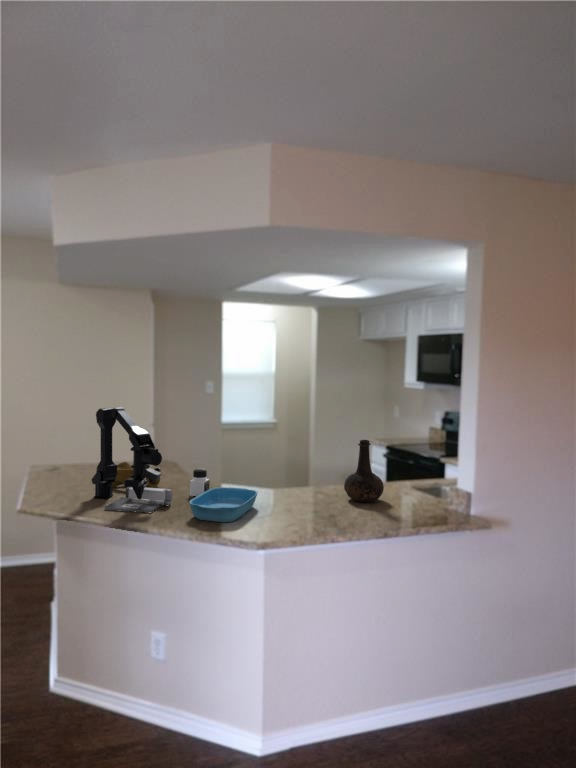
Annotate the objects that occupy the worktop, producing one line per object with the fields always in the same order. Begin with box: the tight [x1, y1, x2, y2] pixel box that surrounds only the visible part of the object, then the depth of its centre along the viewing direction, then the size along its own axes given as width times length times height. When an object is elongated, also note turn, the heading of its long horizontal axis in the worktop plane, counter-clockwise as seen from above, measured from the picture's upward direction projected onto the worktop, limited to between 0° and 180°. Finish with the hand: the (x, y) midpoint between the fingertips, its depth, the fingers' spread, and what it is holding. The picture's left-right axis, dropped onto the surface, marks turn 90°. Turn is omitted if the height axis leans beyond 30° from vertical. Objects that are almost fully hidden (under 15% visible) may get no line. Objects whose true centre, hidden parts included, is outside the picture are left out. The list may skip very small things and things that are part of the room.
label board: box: [104, 497, 172, 513], centre depth 232 cm, size 24×16×2 cm
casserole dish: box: [188, 486, 258, 523], centre depth 228 cm, size 37×22×7 cm, turn 166°
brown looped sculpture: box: [112, 461, 161, 488], centre depth 266 cm, size 18×13×22 cm
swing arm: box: [125, 487, 173, 501], centre depth 236 cm, size 20×4×4 cm, turn 82°
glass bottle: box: [343, 439, 385, 503], centre depth 255 cm, size 18×18×28 cm
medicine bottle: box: [189, 468, 210, 497], centre depth 254 cm, size 7×7×12 cm
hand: (139, 499), depth 231 cm, fingers closed
